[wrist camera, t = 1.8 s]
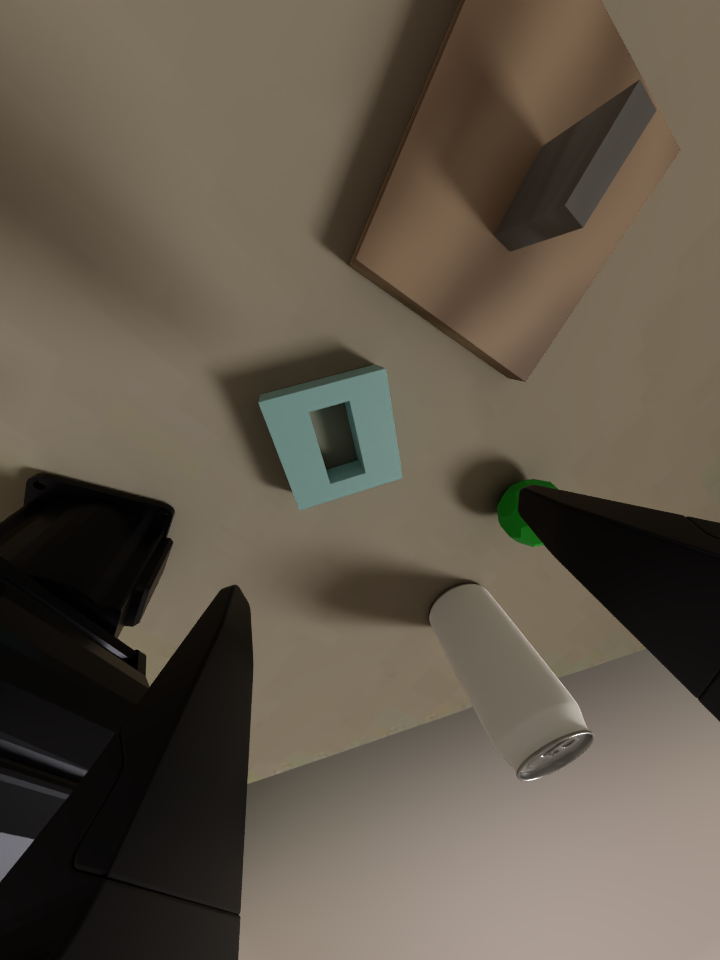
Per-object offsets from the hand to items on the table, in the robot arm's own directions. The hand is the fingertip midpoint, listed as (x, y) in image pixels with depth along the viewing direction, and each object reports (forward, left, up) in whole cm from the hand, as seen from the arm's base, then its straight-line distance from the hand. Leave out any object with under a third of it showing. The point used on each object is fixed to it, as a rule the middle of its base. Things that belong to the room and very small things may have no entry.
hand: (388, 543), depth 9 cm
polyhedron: (+16, +1, -11) cm, 19 cm away
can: (+19, -11, -11) cm, 24 cm away
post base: (+3, +14, -11) cm, 18 cm away
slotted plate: (0, 0, -11) cm, 11 cm away
